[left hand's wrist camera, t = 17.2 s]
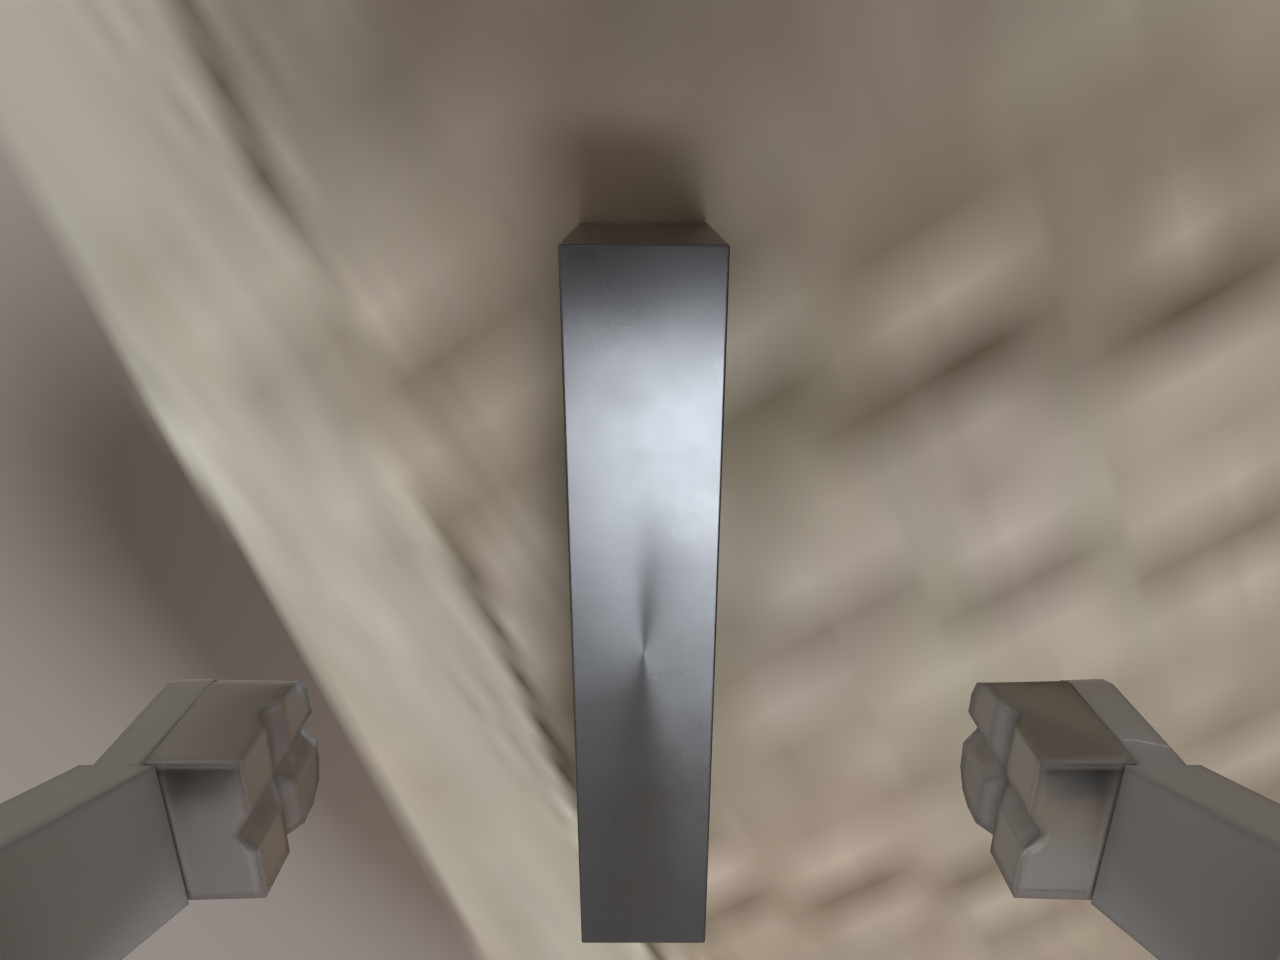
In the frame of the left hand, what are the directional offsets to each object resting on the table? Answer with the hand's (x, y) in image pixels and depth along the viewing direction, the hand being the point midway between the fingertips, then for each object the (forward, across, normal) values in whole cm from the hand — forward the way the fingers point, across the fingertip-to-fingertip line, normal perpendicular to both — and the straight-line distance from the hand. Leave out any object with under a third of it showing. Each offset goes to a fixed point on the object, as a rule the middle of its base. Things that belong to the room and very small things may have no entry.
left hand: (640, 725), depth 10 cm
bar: (+23, 0, -8) cm, 25 cm away
